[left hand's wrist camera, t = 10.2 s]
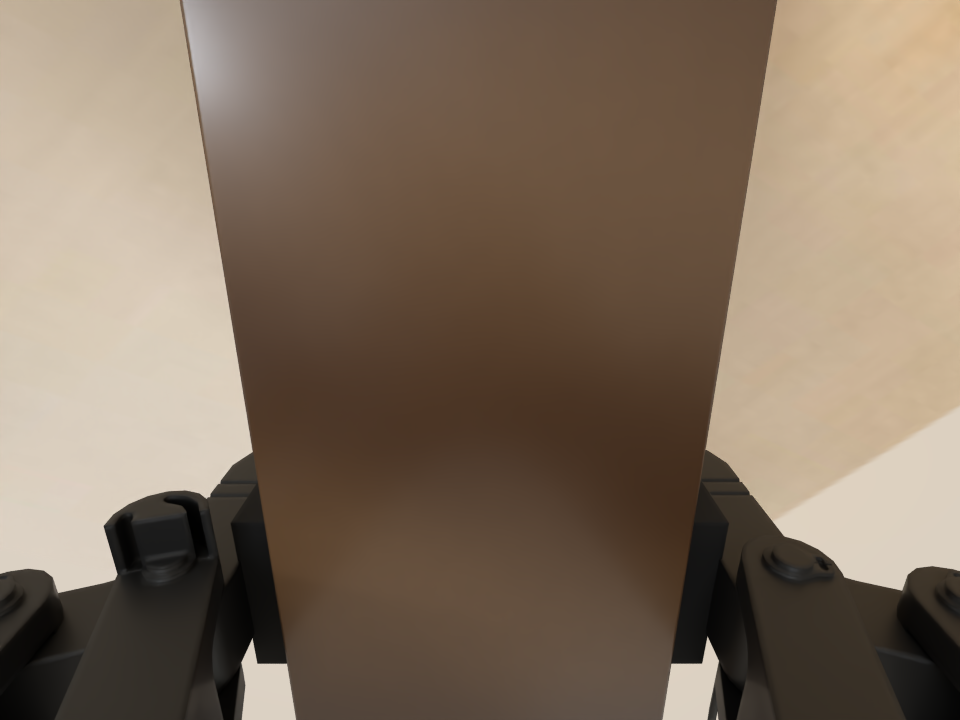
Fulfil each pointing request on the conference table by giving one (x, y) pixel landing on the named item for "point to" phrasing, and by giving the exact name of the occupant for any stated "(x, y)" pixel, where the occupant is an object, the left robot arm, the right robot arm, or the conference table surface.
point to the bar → (478, 331)
